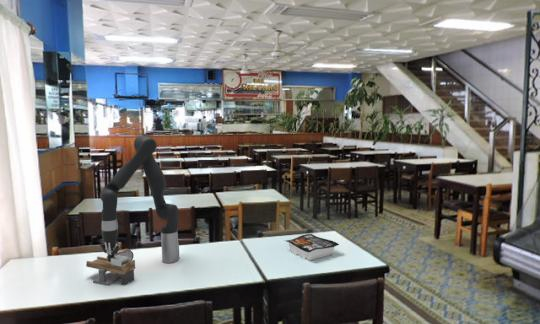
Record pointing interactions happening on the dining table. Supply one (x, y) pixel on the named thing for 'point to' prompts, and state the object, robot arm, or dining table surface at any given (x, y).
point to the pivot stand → (114, 277)
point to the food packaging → (311, 246)
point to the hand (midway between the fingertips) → (111, 261)
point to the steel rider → (119, 260)
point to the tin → (125, 253)
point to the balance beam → (105, 264)
